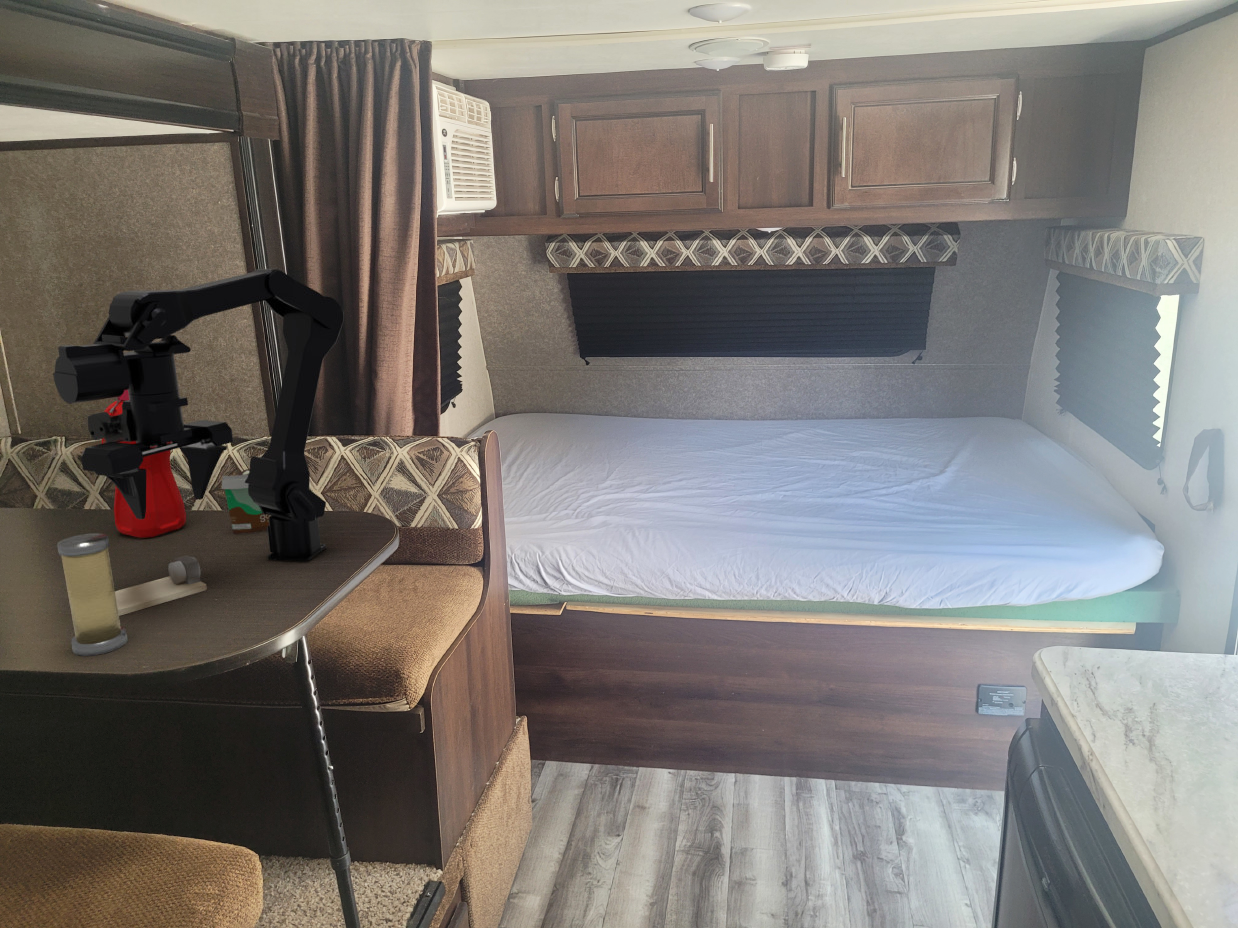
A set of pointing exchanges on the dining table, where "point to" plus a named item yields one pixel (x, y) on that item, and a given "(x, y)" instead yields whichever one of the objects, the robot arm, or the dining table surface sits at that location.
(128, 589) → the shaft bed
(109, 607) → the metal capped yellow cylinder
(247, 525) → the food container
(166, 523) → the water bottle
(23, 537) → the dining table surface
